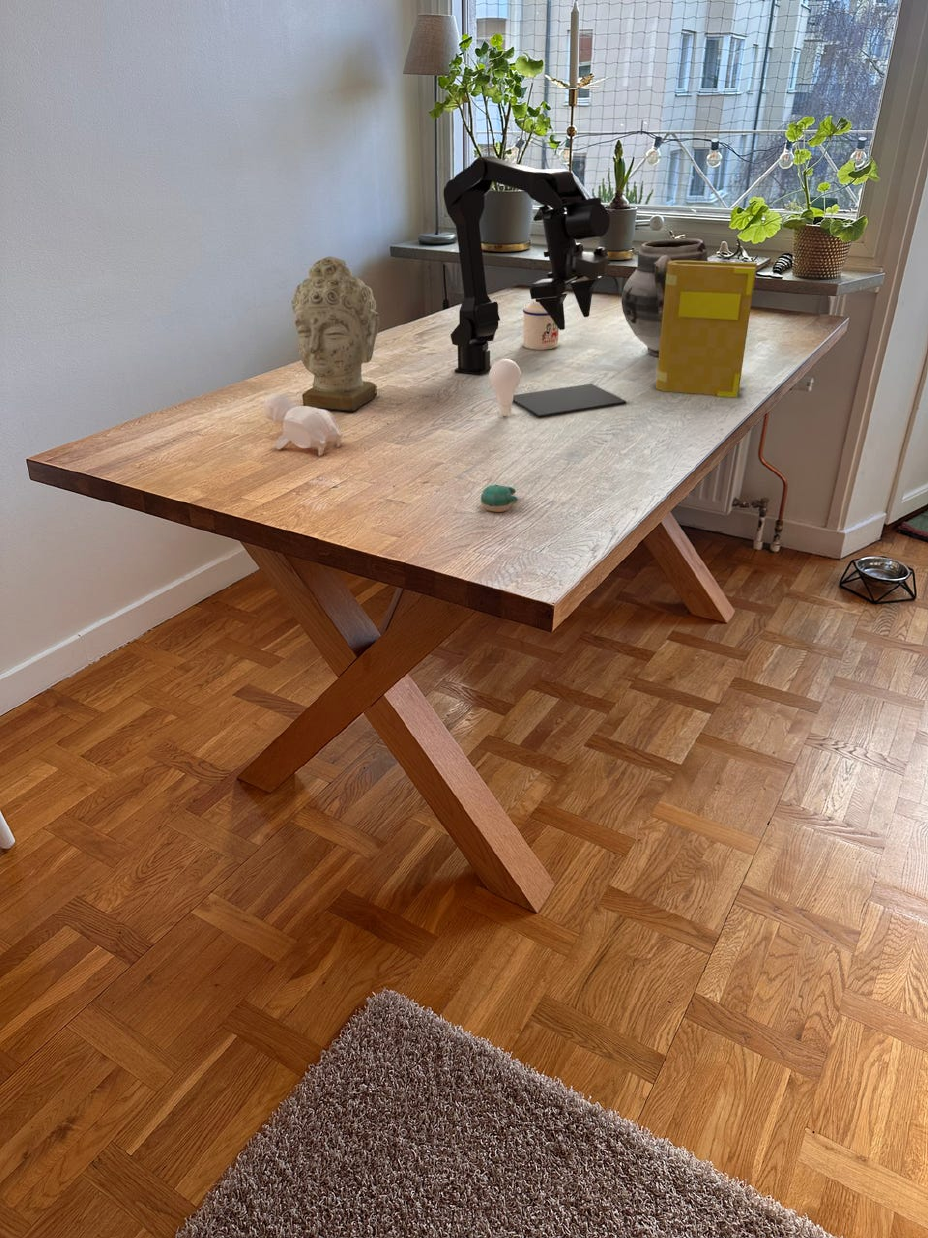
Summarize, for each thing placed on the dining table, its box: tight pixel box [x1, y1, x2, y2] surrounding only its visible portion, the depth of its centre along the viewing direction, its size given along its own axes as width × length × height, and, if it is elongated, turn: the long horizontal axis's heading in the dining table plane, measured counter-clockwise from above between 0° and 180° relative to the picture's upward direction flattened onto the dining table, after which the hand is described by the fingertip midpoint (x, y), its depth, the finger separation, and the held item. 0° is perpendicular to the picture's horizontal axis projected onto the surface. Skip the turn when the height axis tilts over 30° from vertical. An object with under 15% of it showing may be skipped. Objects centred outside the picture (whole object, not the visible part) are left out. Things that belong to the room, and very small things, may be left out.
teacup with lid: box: [522, 300, 559, 351], centre depth 220 cm, size 12×9×12 cm
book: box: [655, 260, 758, 398], centre depth 182 cm, size 17×7×25 cm, turn 71°
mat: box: [513, 383, 627, 418], centre depth 183 cm, size 14×20×1 cm
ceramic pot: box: [620, 237, 709, 357], centre depth 208 cm, size 29×23×25 cm
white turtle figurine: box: [263, 392, 344, 457], centre depth 162 cm, size 9×8×15 cm
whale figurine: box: [480, 484, 518, 513], centre depth 138 cm, size 6×7×4 cm
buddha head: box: [291, 256, 380, 413], centre depth 179 cm, size 17×19×28 cm
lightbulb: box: [488, 358, 522, 417], centre depth 173 cm, size 6×6×11 cm
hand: (574, 323), depth 181 cm, fingers open, 9 cm apart
